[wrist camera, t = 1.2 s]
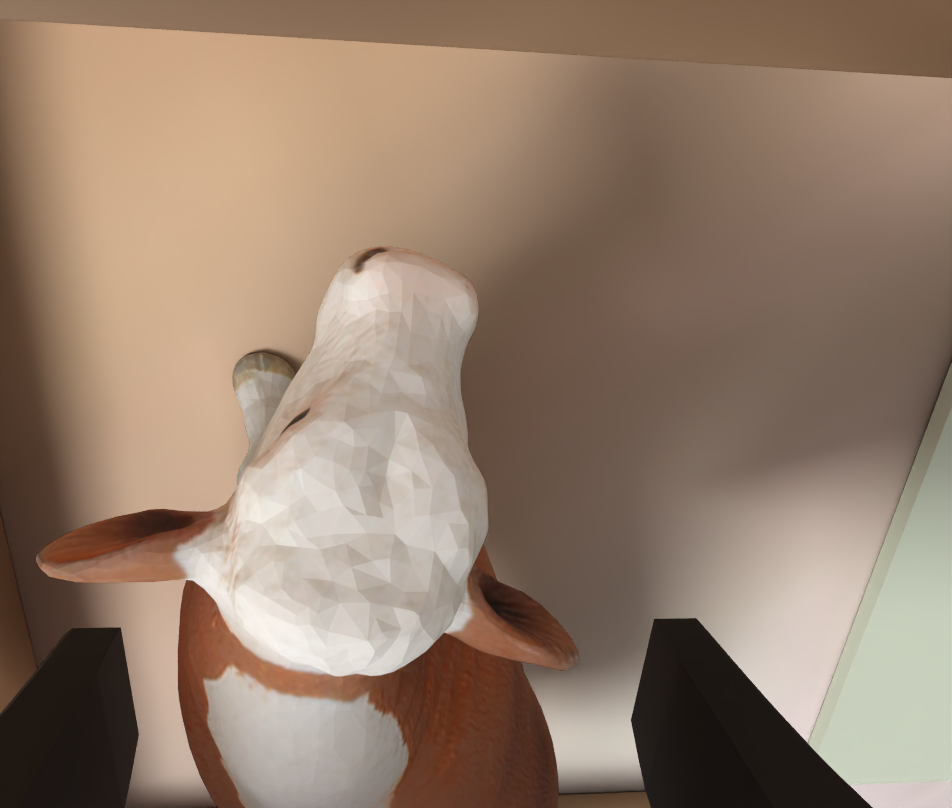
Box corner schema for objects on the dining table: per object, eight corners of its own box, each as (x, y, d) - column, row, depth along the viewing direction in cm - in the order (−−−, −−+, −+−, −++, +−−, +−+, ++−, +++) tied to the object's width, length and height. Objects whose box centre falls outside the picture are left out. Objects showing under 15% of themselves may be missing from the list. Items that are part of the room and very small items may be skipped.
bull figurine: (470, 93, 12) (597, 365, 5) (531, 740, 19) (623, 1231, 12) (154, 131, 12) (-144, 462, 5) (328, 769, 19) (302, 1286, 12)
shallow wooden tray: (659, 818, 21) (692, 925, 19) (29, 846, 19) (-14, 967, 17) (891, -33, 12) (1004, -16, 10) (-241, -121, 10) (-402, -123, 8)
